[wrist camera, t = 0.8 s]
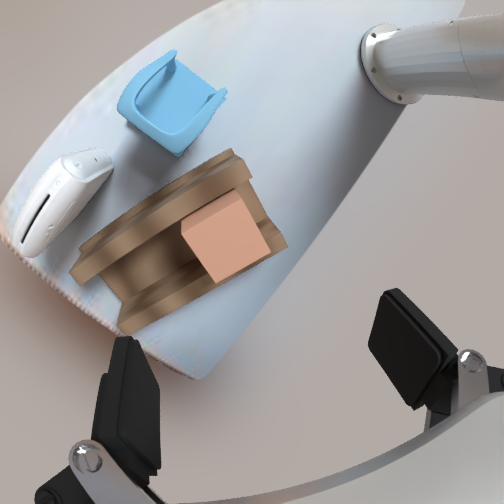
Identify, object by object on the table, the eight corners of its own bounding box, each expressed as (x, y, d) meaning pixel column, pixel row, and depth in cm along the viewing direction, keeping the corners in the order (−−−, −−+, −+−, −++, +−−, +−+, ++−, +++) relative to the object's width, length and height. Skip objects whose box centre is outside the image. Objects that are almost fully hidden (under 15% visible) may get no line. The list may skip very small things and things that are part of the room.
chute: (230, 148, 30) (239, 152, 25) (274, 231, 36) (290, 251, 30) (81, 245, 30) (65, 267, 25) (136, 310, 36) (130, 339, 31)
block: (228, 180, 30) (241, 198, 23) (252, 223, 33) (271, 252, 26) (182, 207, 31) (181, 233, 24) (208, 248, 33) (215, 283, 26)
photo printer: (97, 140, 26) (48, 151, 15) (121, 164, 28) (84, 188, 17) (48, 204, 27) (-4, 245, 16) (71, 226, 29) (27, 275, 18)
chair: (228, 102, 28) (252, 88, 17) (179, 158, 29) (174, 175, 19) (176, 62, 24) (172, 25, 14) (127, 118, 26) (93, 114, 15)
